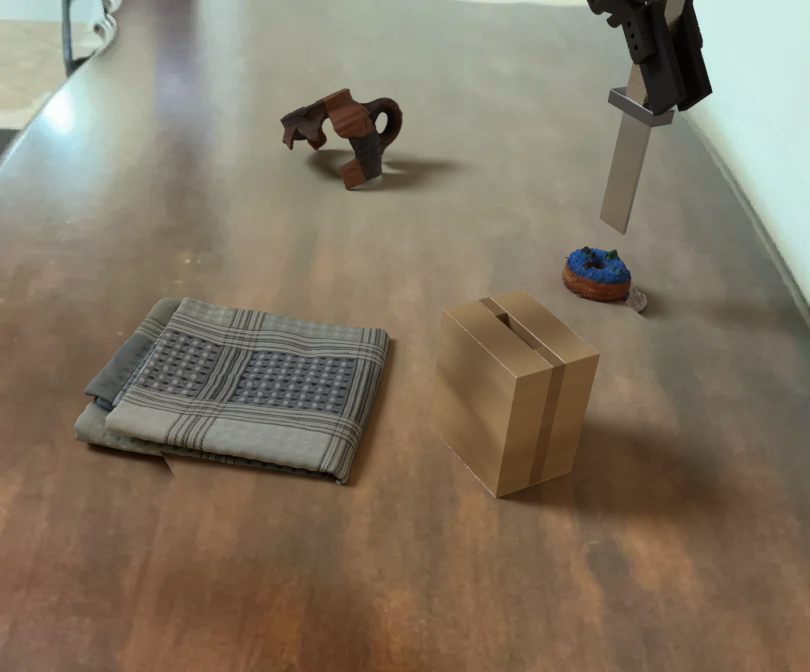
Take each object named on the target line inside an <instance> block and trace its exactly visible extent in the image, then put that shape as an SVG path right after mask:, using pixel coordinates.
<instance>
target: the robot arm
mask: <svg viewBox="0 0 810 672" xmlns="http://www.w3.org/2000/svg"><path fill="white" fill-rule="evenodd" d="M647 1H648V0H586V2H587V4H588V7H589V9H590V11H591V12H592V13H593V14H594V15H596V16H601V15H602V14H604V13H606V14H610V16H608V17H607V18H606V19H605V21H606V23H607V25H608V26H609V27H610V28H613V29H618V28H619V27H620V26H621V29H622V31H623V35H624V38H625V42H626V46H627V49H628V53H629V56H630V59H631V60H632V63H633V62H634V64H635V65H639V67H640V70H641V74H642V77H643V81H644V84H645V88H646V91H647V95H648V98H649V102H650V105H651V109H652V112H653V116H658V115H662V114H664V113H665V112H667V111H668V110H669V109H671V108H672V109H673V108H674V107H675V106H676V108H677V111H678V113H681V112H687V111H688V110H690V109H691V108H693V107H695V105H697V104H699V103H700V102H702V101H703V100H704V99H705V98H707V97H709V96H710V95H712V94H713V93H714V91H713V87H712V84H711V81H710V77H709V73H708V70H707V66H706V63H705V60H704V55H703V53H702V49H703V48H704V38H703V35H702V32H701V28H700V24H699V20H698V17H697V14H696V11H695V6H694V0H685V2H684V6H683V10H682V14H681V18H680V22H679V26H678V30H677V34H676V38H675V42H674V46H673V43H672V40H671V36H670V33H669V29H668V26H667V22H666V18H665V15H664V12H663V9H662V5H661V2H660V1H656V2H651V3H650V4H649V5H648V6H647V7H646V2H647Z"/></svg>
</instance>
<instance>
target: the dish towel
mask: <svg viewBox="0 0 810 672" xmlns="http://www.w3.org/2000/svg"><path fill="white" fill-rule="evenodd" d="M390 344H391V337H390V335H389V334H388V332H387V330H385V329H384V328H382V327H381V328H380V327H377V328H376V327H362V326H348V325H339V324H332V323H324V322H320V321H309V320H303V319H297V318H293V317H288V316H284V315H280V314H275V313H270V312H267V311H262V310H261V311H260V310H255V309H244V308H236V307H229V306H224V305H218V304H213V303H210V302H209V303H208V302H205V301H203V300H199V299H195V298H193V297H187V296H184V297H183V299H179V298H176V297H172V296H167V297H164V298H161V299H159V300H158V302H157V303H155V304H154V305H153V307H152V309H151V310H150V311H149V312H148V314H147V315H145V318H144V320H143V321H142V322H141V323H140V324H139V325H138V327H137V329H136V330H135V331H134V332H133V333H132V335H130V337H128V338H127V339H126V340H125V341H124V343H122V345H120V346H119V347H118V348H117V350H116V352H115V353H114V354H113V356H112V357H111V359H110V360H108V361H107V363H106V364H105V365H104V366H103V367H102V368H101V370H100V371H99V372H98V373H97V374H96V375H95V376H94V377H93V378H92V379H91V380H90V382H89V383H88V384H87V385H86V387H85V388H84V390H83V392H84V394H85V395H86V396H89V397H93V399H92V400H91V401H90V402H89V403H88V404H87V405H86V407H85V409H84V411H83V412H81V414H79V416H78V417H77V419H76V421H75V423H74V425H73V428H74V431H75V435H74V440H75V441H78V442H81V443H85V444H93V445H100V446H103V447H108V448H111V449H116V450H120V451H125V452H133V453H138V454H143V455H144V454H145V455H151V456H157V457H164V456H163V454H162V453H167V454H175V455H178V456H183V457H184V456H185V457H186V456H187V457H192V458H197V459H204V460H211V461H214V462H215V461H216V462H219V463H224V464H231V465H238V466H247V467H253V468H261V469H266V470H275V471H278V472H279V471H280V472H284V473H285V472H286V473H292V474H296V475H300V476H301V475H303V476H304V475H305V476H309V477H320V478H323V479H328V477H329V476H330V474H331V475H333V476H334V482H335V484H337V485H339V486H343V485H346V483H347V482H348V479H349V475H350V469H351V467H352V463H353V461H354V460H355V459H354V458H355V456H356V452H357V449H358V447H359V444H360V441H361V439H362V436H363V434H364V432H365V429H366V426H367V423H368V422H369V417H370V415H371V410H372V408H373V404H374V400H375V398H376V394H377V392H378V388H379V385H380V383H381V379H382V378H383V372H384V369H385V365H386V363H387V359H388V355H389V348H390Z"/></svg>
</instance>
